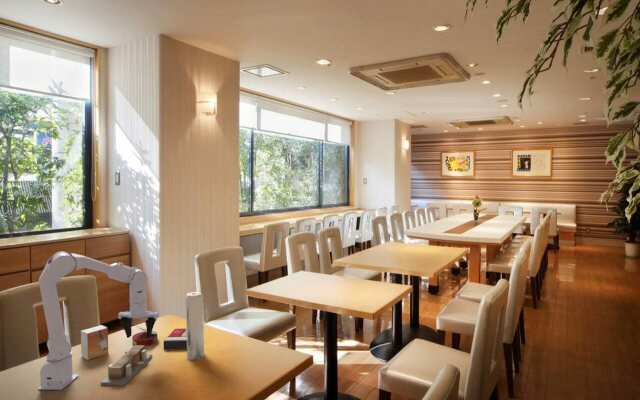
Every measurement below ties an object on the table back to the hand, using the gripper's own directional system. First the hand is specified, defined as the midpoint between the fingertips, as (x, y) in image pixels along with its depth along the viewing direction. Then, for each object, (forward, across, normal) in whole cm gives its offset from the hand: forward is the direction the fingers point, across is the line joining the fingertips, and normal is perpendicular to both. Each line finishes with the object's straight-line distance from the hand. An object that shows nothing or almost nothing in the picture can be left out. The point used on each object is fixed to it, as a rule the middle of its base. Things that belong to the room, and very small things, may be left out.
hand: (139, 336), depth 156 cm
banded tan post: (+8, +1, +7) cm, 11 cm away
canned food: (+10, +6, -18) cm, 21 cm away
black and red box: (+10, -10, -18) cm, 23 cm away
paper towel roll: (+10, -20, -4) cm, 23 cm away
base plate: (+9, +1, +7) cm, 12 cm away
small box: (+10, +20, -5) cm, 23 cm away
